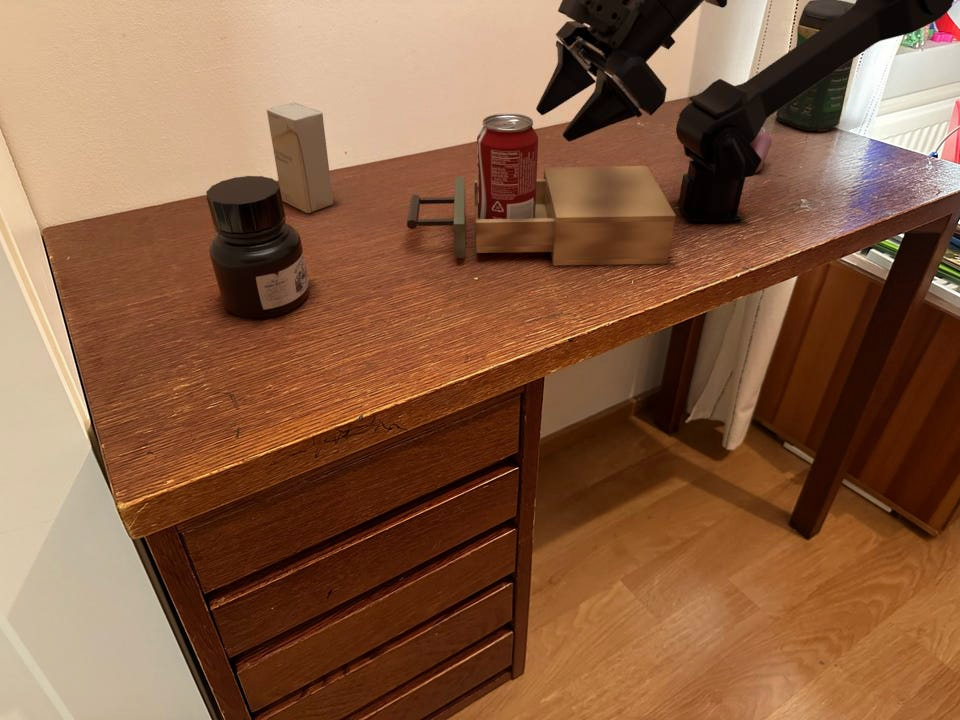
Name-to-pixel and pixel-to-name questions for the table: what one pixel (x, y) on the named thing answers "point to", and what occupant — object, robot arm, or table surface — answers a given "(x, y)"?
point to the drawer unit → (609, 216)
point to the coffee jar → (827, 96)
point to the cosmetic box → (301, 156)
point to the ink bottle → (255, 248)
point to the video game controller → (762, 146)
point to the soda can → (507, 167)
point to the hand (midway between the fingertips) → (551, 124)
